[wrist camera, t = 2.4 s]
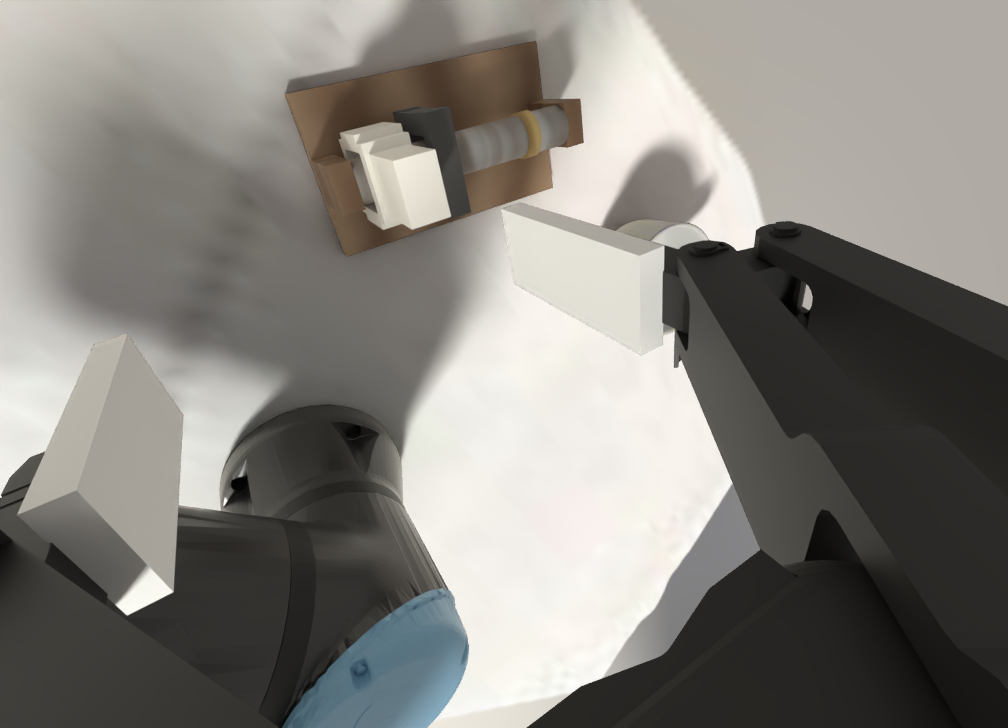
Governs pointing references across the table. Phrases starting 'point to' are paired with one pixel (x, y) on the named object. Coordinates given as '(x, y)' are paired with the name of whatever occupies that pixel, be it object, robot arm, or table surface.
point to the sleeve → (397, 176)
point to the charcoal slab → (439, 150)
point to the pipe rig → (477, 124)
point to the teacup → (664, 237)
